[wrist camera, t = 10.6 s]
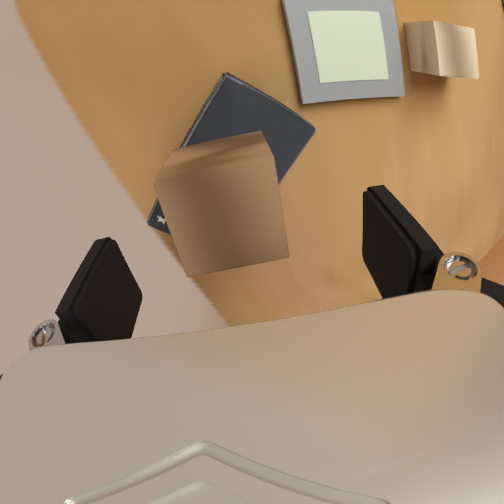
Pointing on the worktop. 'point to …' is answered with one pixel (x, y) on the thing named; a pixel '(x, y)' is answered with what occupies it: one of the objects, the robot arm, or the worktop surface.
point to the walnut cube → (223, 204)
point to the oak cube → (442, 49)
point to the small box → (245, 127)
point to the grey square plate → (344, 49)
